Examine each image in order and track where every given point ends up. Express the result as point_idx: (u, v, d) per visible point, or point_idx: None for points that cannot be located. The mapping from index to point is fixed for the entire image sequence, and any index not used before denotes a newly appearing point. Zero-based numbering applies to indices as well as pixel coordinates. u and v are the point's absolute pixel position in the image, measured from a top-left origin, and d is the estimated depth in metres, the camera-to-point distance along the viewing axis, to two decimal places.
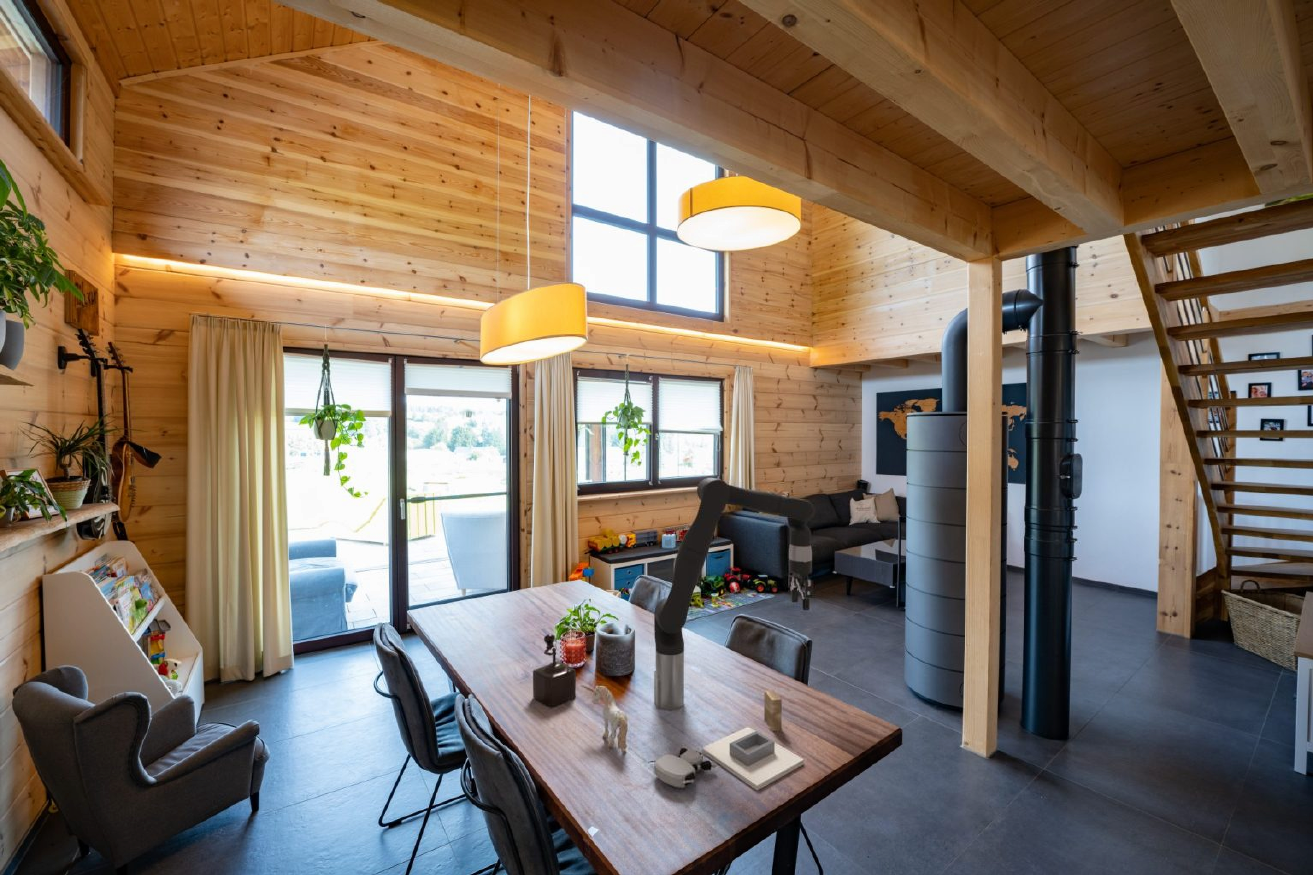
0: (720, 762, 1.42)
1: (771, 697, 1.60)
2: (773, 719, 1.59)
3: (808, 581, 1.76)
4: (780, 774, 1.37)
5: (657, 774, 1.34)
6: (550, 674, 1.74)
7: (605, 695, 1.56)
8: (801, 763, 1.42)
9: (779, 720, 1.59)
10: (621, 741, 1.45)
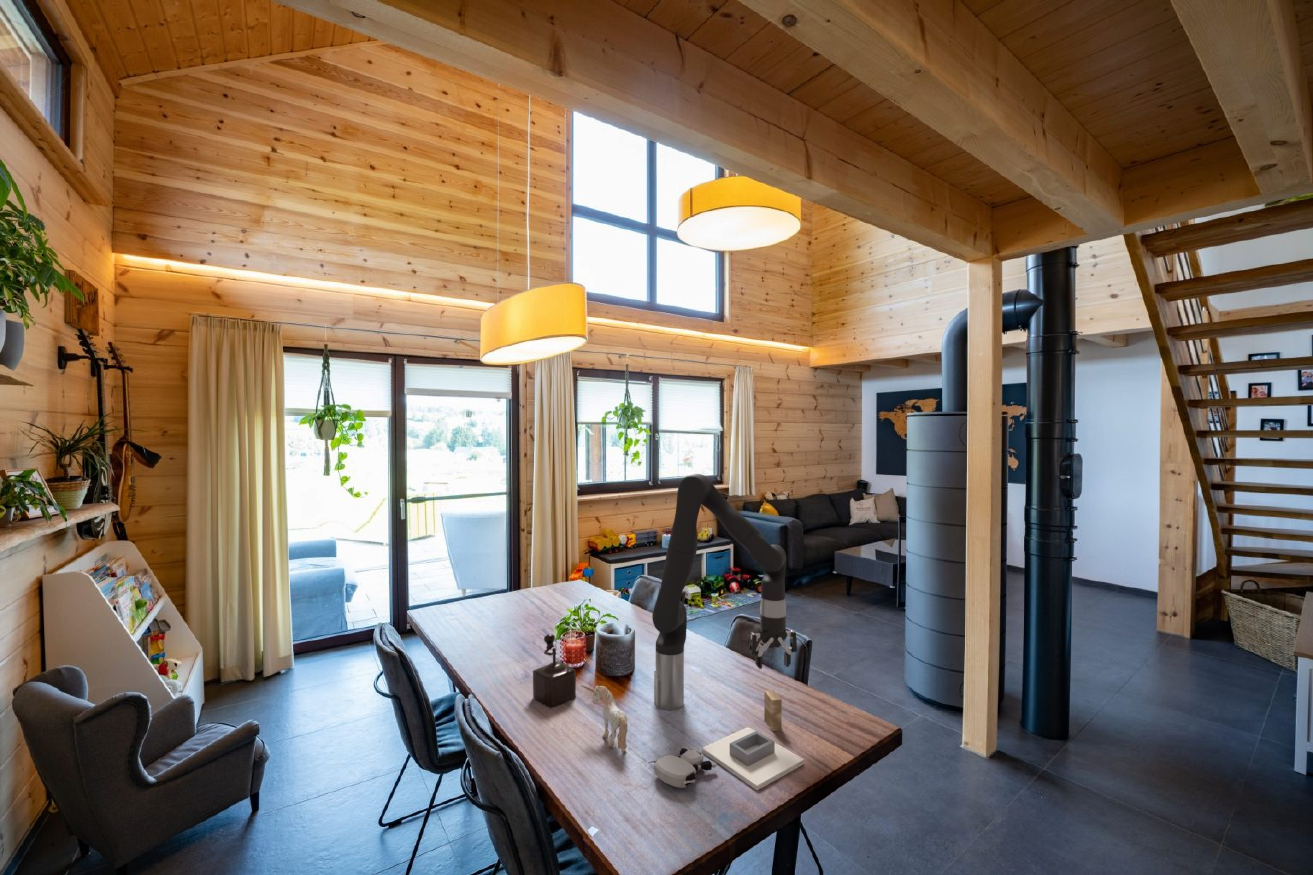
0: (720, 762, 1.42)
1: (771, 697, 1.60)
2: (773, 719, 1.59)
3: None
4: (780, 774, 1.37)
5: (658, 774, 1.34)
6: (550, 674, 1.74)
7: (605, 695, 1.56)
8: (801, 763, 1.42)
9: (779, 720, 1.59)
10: (621, 741, 1.45)
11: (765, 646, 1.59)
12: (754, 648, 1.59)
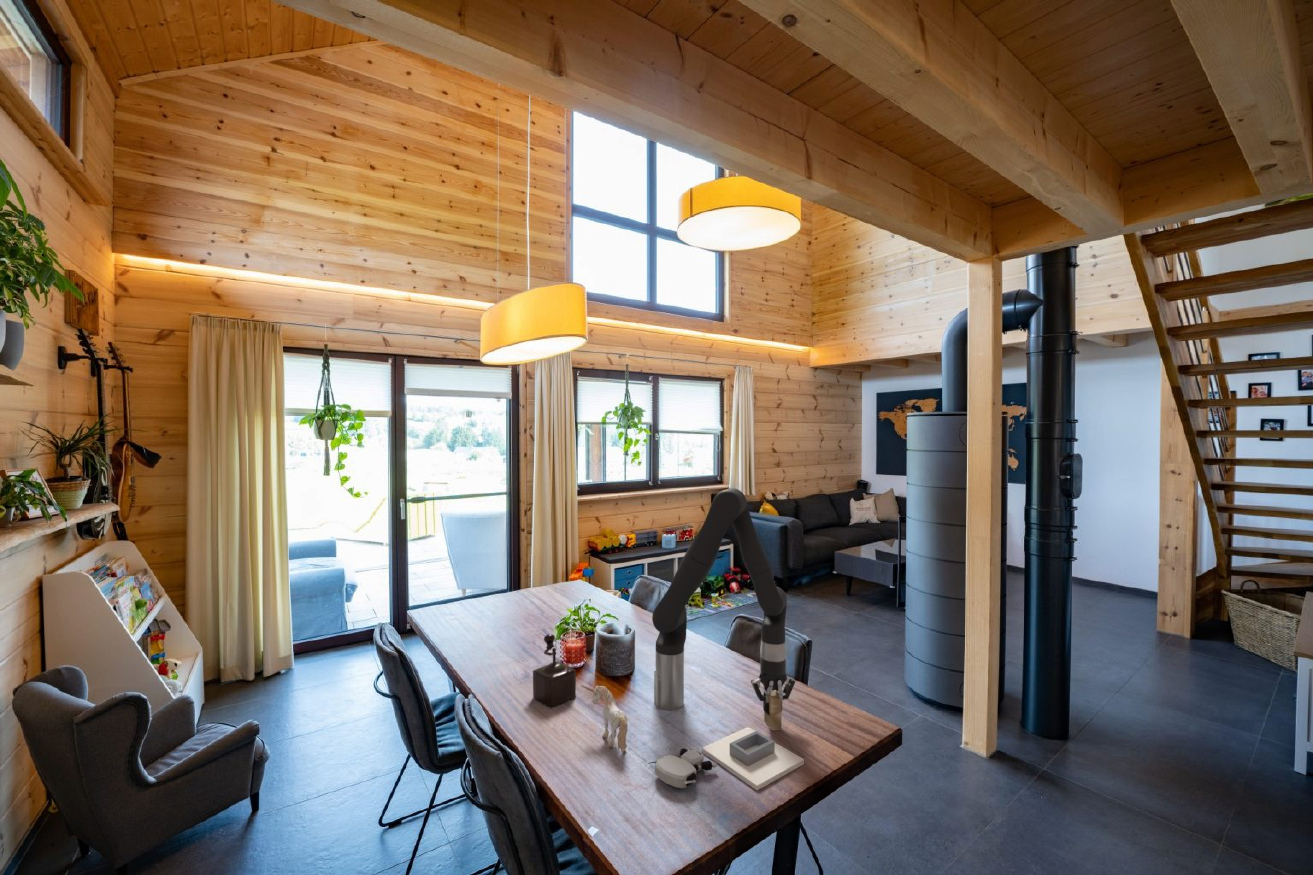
0: (720, 762, 1.42)
1: (771, 697, 1.60)
2: (773, 719, 1.59)
3: None
4: (780, 774, 1.37)
5: (658, 775, 1.33)
6: (550, 674, 1.74)
7: (605, 695, 1.56)
8: (801, 763, 1.42)
9: (779, 719, 1.59)
10: (621, 741, 1.45)
11: (769, 691, 1.60)
12: (760, 695, 1.60)
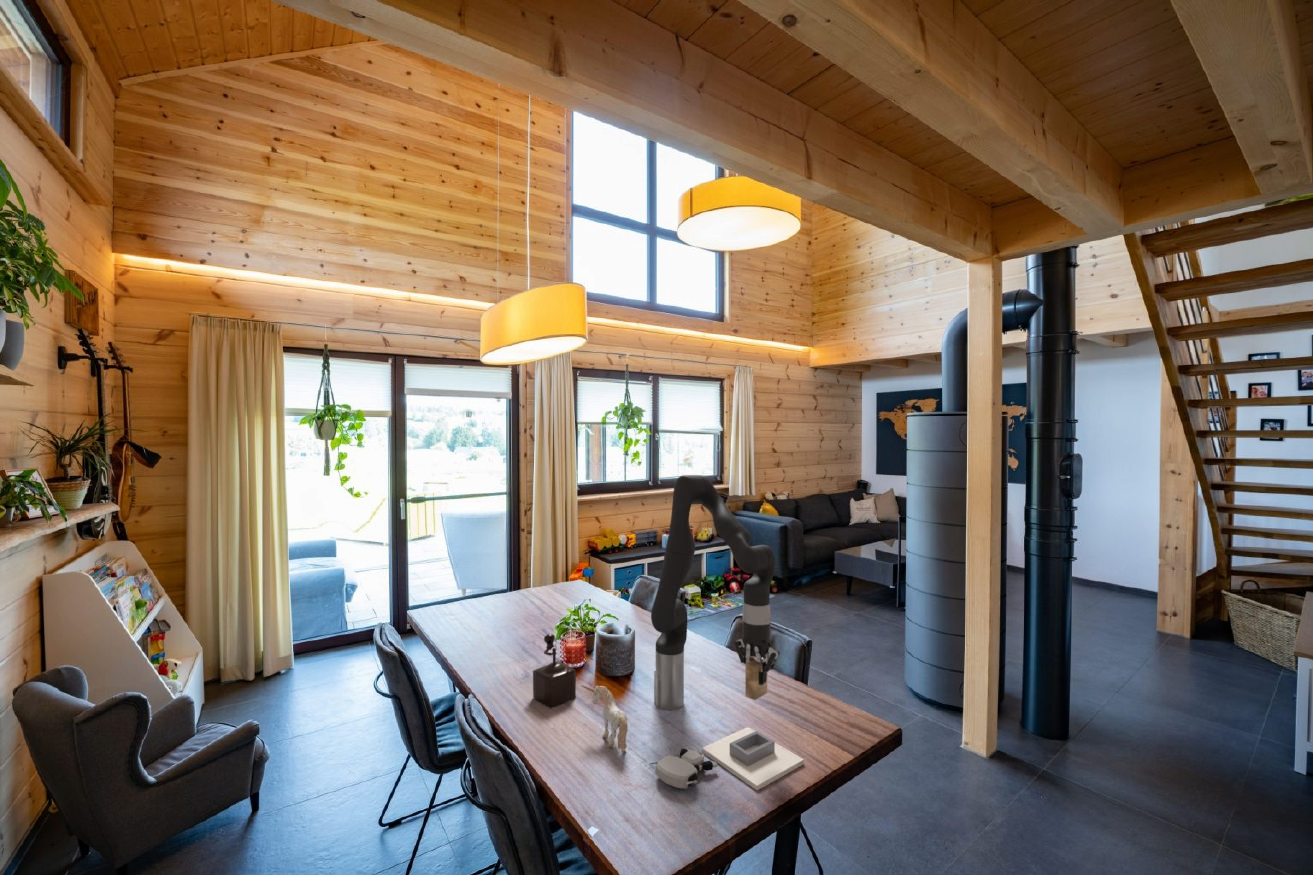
0: (720, 762, 1.42)
1: (750, 662, 1.47)
2: (746, 684, 1.46)
3: (776, 655, 1.43)
4: (780, 774, 1.37)
5: (659, 776, 1.33)
6: (550, 674, 1.74)
7: (605, 695, 1.56)
8: (801, 763, 1.42)
9: (752, 688, 1.45)
10: (621, 741, 1.45)
11: (747, 654, 1.48)
12: (740, 655, 1.50)
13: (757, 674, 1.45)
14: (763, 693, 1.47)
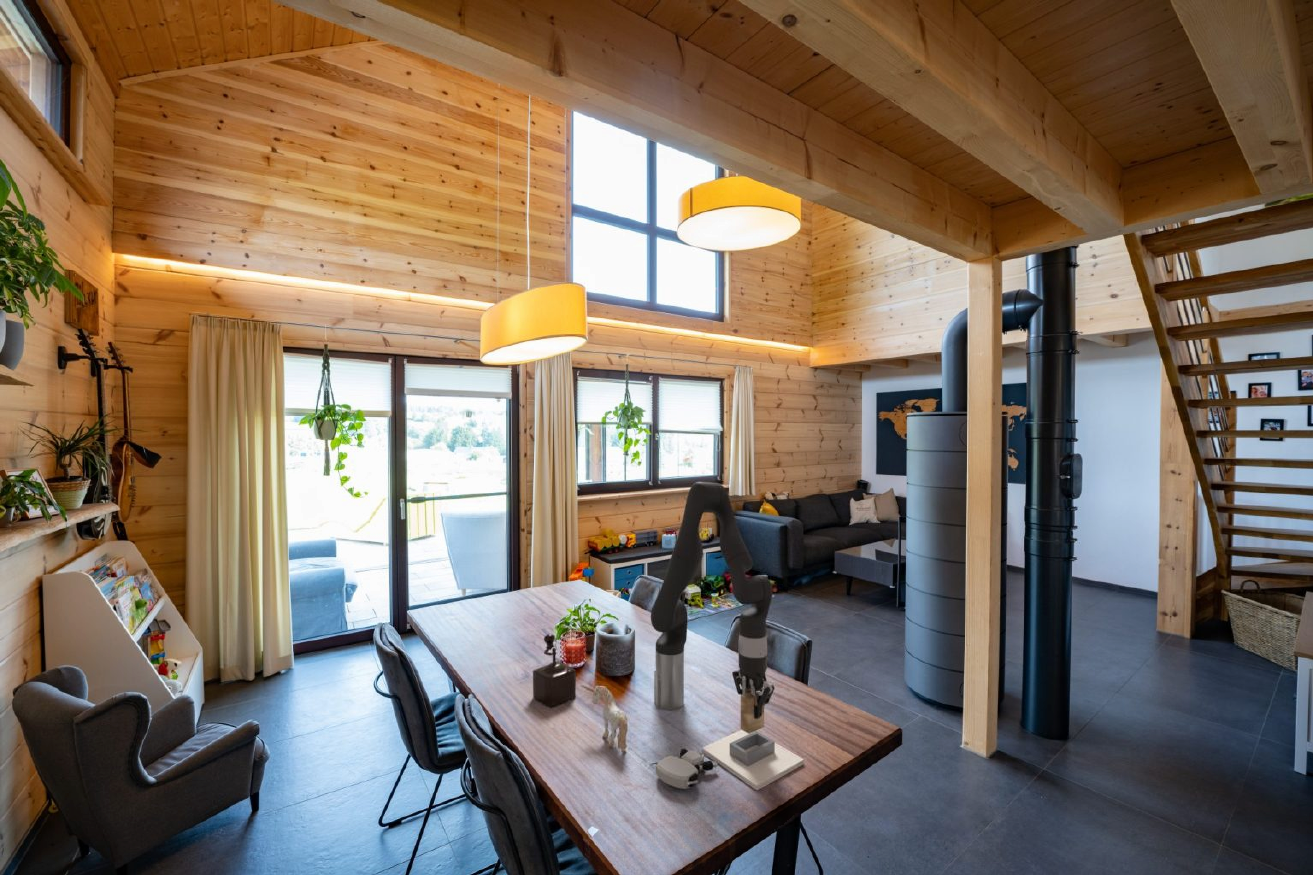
0: (720, 762, 1.42)
1: (746, 694, 1.45)
2: (741, 717, 1.44)
3: (770, 689, 1.40)
4: (780, 774, 1.37)
5: (660, 776, 1.33)
6: (550, 674, 1.74)
7: (605, 695, 1.56)
8: (801, 763, 1.42)
9: (747, 721, 1.42)
10: (621, 741, 1.45)
11: (743, 686, 1.45)
12: (737, 687, 1.48)
13: (752, 707, 1.43)
14: (759, 727, 1.44)
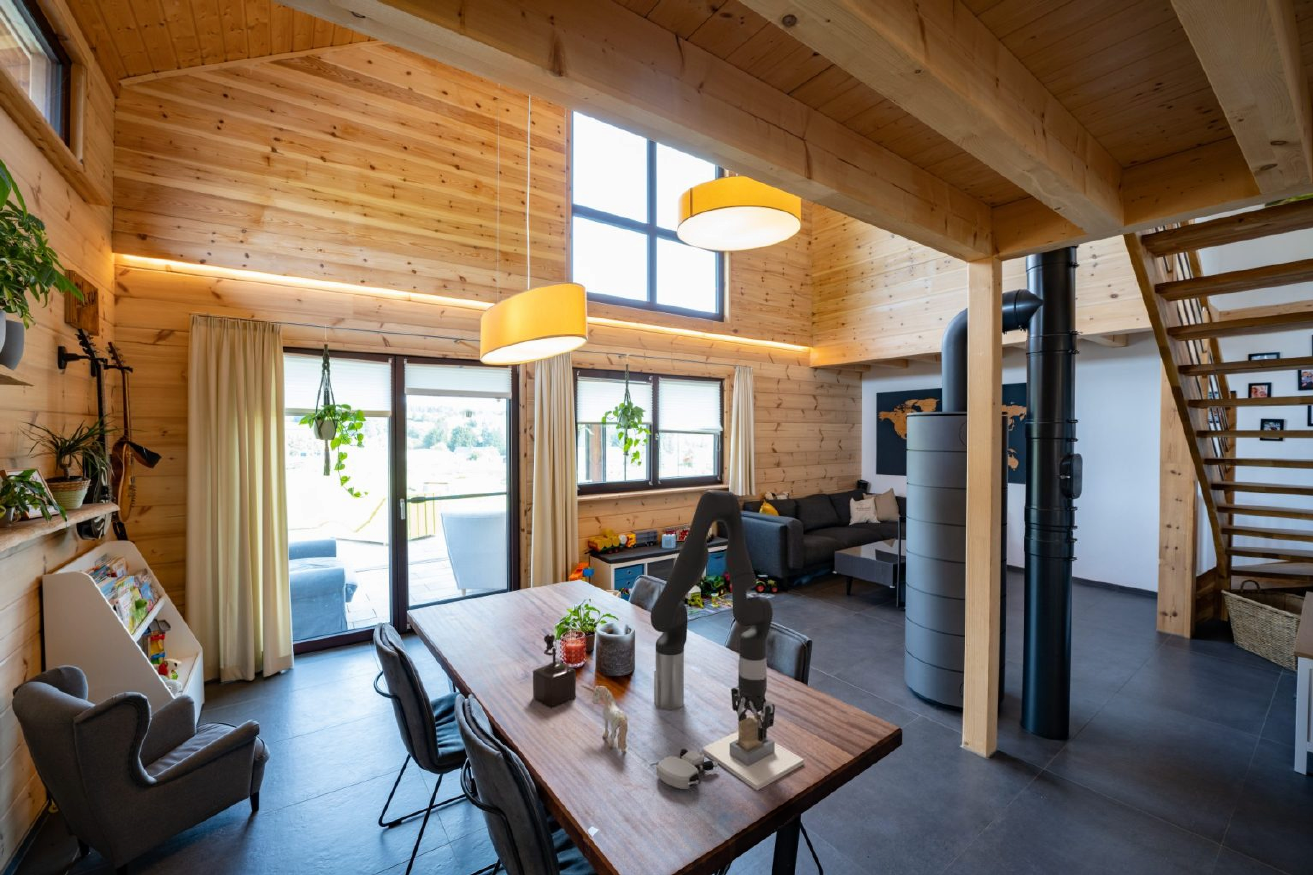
0: (720, 762, 1.42)
1: (744, 720, 1.44)
2: (739, 744, 1.43)
3: (771, 708, 1.39)
4: (780, 774, 1.37)
5: (660, 776, 1.33)
6: (550, 674, 1.74)
7: (605, 695, 1.56)
8: (801, 763, 1.42)
9: (744, 748, 1.42)
10: (621, 741, 1.45)
11: (740, 705, 1.46)
12: (734, 703, 1.49)
13: (750, 734, 1.42)
14: None
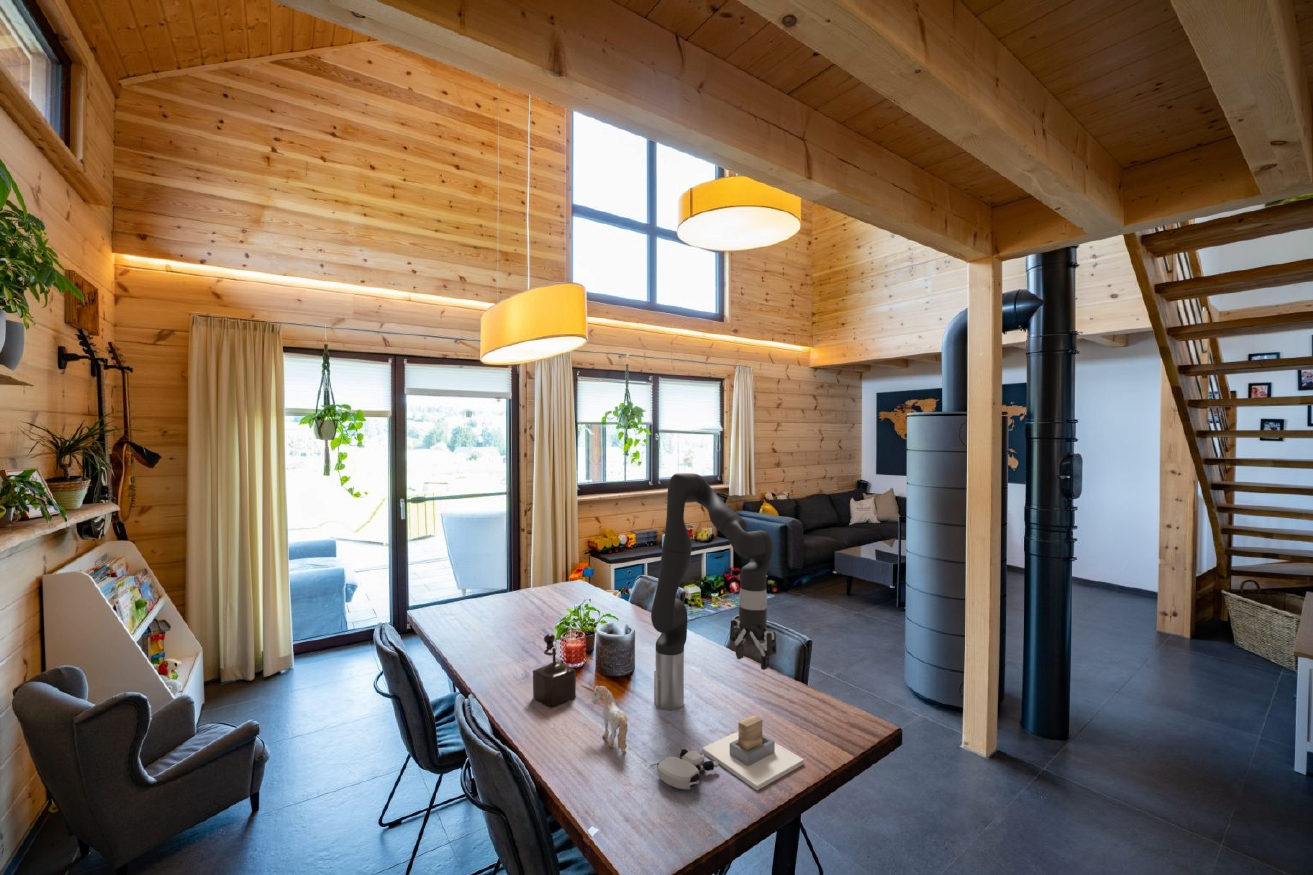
0: (720, 762, 1.42)
1: (744, 720, 1.44)
2: (739, 744, 1.43)
3: (772, 634, 1.42)
4: (780, 774, 1.37)
5: (661, 777, 1.33)
6: (550, 674, 1.74)
7: (605, 695, 1.56)
8: (801, 763, 1.42)
9: (744, 748, 1.42)
10: (621, 741, 1.45)
11: (739, 636, 1.49)
12: (732, 634, 1.51)
13: (750, 734, 1.42)
14: None
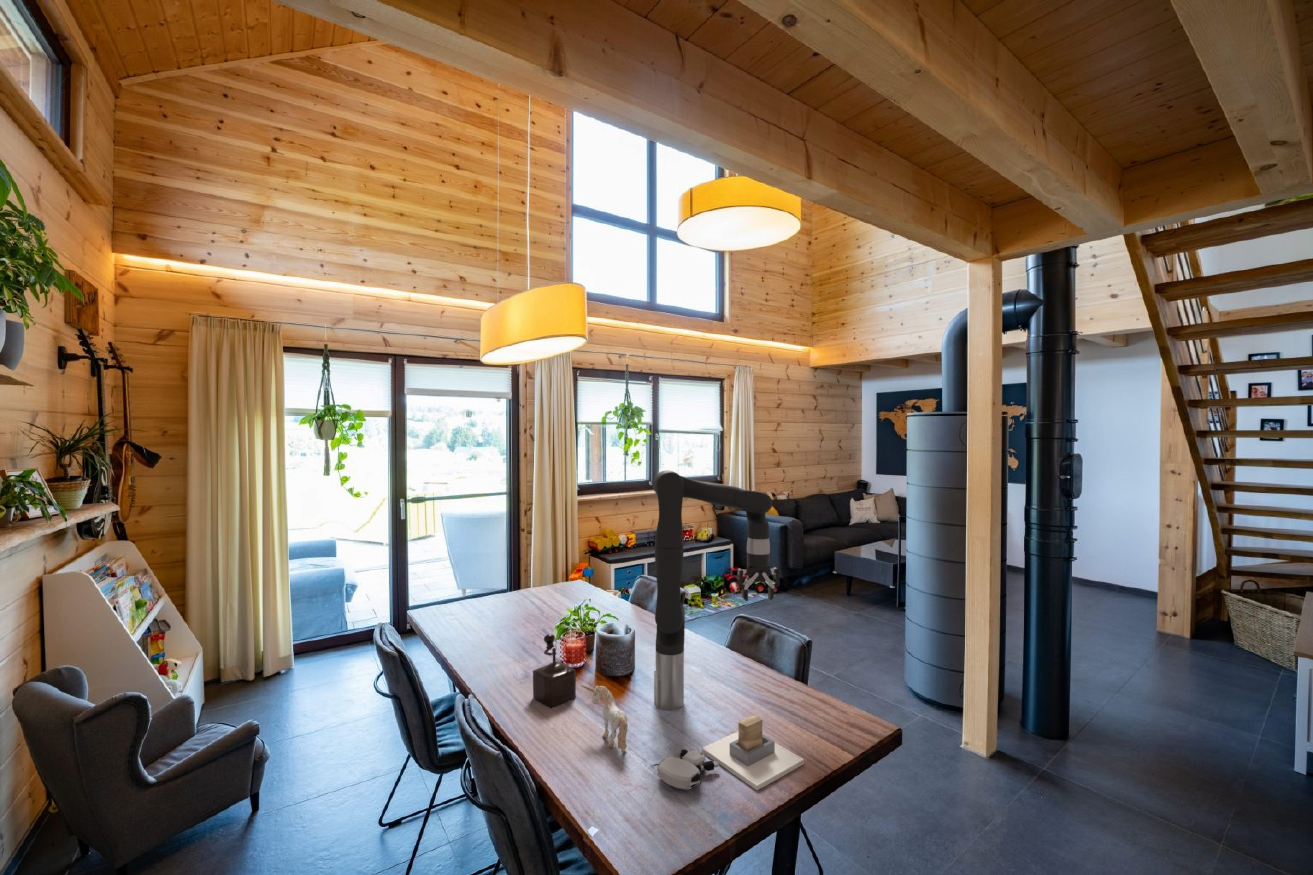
0: (720, 762, 1.42)
1: (744, 720, 1.44)
2: (739, 744, 1.43)
3: None
4: (780, 774, 1.37)
5: (662, 777, 1.32)
6: (550, 674, 1.74)
7: (605, 695, 1.56)
8: (801, 763, 1.42)
9: (744, 748, 1.42)
10: (621, 741, 1.45)
11: (751, 580, 1.78)
12: (741, 582, 1.78)
13: (750, 734, 1.42)
14: None
